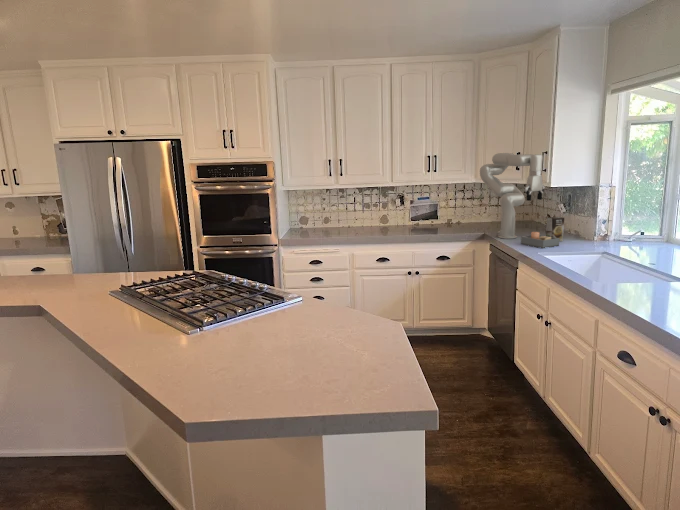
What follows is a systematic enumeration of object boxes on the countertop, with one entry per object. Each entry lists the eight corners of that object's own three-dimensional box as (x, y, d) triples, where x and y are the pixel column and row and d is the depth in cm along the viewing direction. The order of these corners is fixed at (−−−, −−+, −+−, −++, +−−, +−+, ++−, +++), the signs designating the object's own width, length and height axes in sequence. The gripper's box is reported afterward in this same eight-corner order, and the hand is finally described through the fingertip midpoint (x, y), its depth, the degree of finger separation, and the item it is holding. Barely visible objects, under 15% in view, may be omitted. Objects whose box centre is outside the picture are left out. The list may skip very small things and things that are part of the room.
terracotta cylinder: (528, 242, 298) (529, 232, 296) (534, 241, 300) (535, 231, 298) (534, 243, 293) (535, 233, 292) (540, 243, 295) (541, 232, 294)
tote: (520, 244, 299) (521, 236, 297) (536, 241, 304) (536, 234, 303) (543, 248, 282) (543, 240, 281) (558, 246, 288) (559, 238, 287)
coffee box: (551, 242, 300) (553, 218, 296) (545, 240, 306) (546, 217, 303) (563, 241, 302) (565, 217, 299) (556, 239, 308) (557, 216, 305)
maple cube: (538, 244, 291) (539, 236, 290) (544, 243, 293) (545, 236, 292) (544, 245, 286) (545, 238, 285) (550, 244, 288) (551, 237, 287)
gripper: (540, 173, 301) (539, 198, 305) (521, 174, 294) (519, 200, 298) (549, 173, 294) (548, 199, 298) (530, 174, 287) (528, 201, 291)
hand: (534, 200), depth 298 cm, fingers open, 9 cm apart
